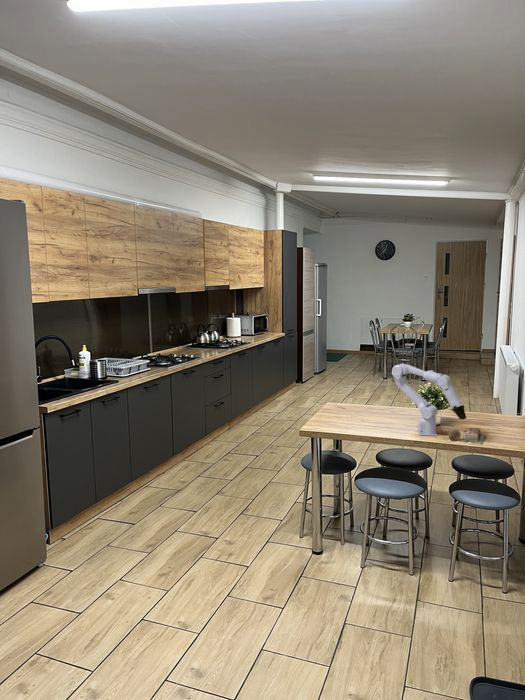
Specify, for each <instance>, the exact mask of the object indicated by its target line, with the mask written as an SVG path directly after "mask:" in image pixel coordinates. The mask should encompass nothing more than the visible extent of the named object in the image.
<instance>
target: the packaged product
mask: <svg viewBox="0 0 525 700" xmlns="http://www.w3.org/2000/svg"><path fill="white" fill-rule="evenodd" d="M484 438H485V433H481V428H479V427H470V428H468V429H467V430H466V431H465V432H464V434H463V437H462V438H461V442H462V441H463V442H462V443H467V442H471V443H470V444H475V443H477V445H482V442H483V441H484Z"/></svg>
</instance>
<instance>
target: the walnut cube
mask: <svg viewBox="0 0 525 700" xmlns="http://www.w3.org/2000/svg"><path fill="white" fill-rule="evenodd" d="M449 439H450V440H451V441H450V440H449ZM448 440H449V441H450V442H457V441H460V442H461V431H460V430H459V429H448Z"/></svg>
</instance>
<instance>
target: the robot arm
mask: <svg viewBox="0 0 525 700" xmlns="http://www.w3.org/2000/svg"><path fill="white" fill-rule="evenodd" d="M408 374H412V375H416V376H420V377H423V378H424V380H425V381H428V382H431V383H434V384H436V385H437V386H439V387H440V388H441V389H442V392H443V394H444V396H445V398H446V400H447V402H448V403H449V407H450V408H451V411H452V412H453V413H455V415H456V416H457V418H458V419H460V420H466V419H467V415H466V412H465V405H464V404H463V405H462V404H461V403H463V402H464V401H463V400H460V398H459V396H458V394H457V392H456V390H455V388H454V387H453V384H452V382H451V377H450V376H449V375H448V374H443V373H441V372H440V373H438V372H435V371H434V370H432V369H431V370H427V371H426V370H423V369H420V368H418V367H415V366H412V365H410V364H406V363H399V364H396V365H393V367H392V369H391V375H392V377H393V380H394V383H395V385H396V386H397V387H398V388H399V389H400V390H401V391H402V392H403V393H404V395H406V396H407V397H408V399H410V401H412V402H413V403H414V404H415V405H416V407H417V409H418V411H419V413H420V414H421V417H418V419H417V420H418V422H417V423H418V426H417V433H418V435H419V436H433V437H435V436H438V434H437V433H436V432H437V431H436V429H437V428H436V427H437V414H438V413H439V410H438V408H437V406H435V405H433V404H432V403H431V402H429V401H426V400H425V398H423V397H422V396H421V395H420V394H419V393H418V392H417V391H416V390H415V389H414V388H413V386H412V385H410V384H409V383H408V382H407V381H406V380H407V376H408ZM452 407H453V408H452Z"/></svg>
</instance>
